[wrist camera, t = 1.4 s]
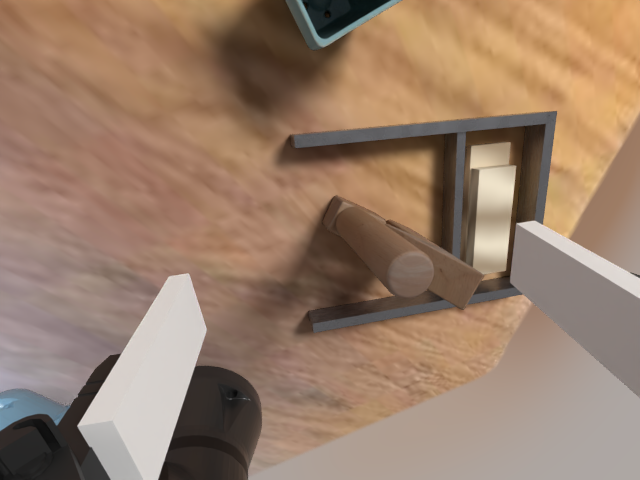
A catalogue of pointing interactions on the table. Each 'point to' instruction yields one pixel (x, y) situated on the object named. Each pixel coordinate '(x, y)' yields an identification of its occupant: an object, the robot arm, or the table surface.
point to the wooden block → (402, 255)
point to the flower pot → (333, 18)
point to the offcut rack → (447, 203)
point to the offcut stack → (487, 206)
